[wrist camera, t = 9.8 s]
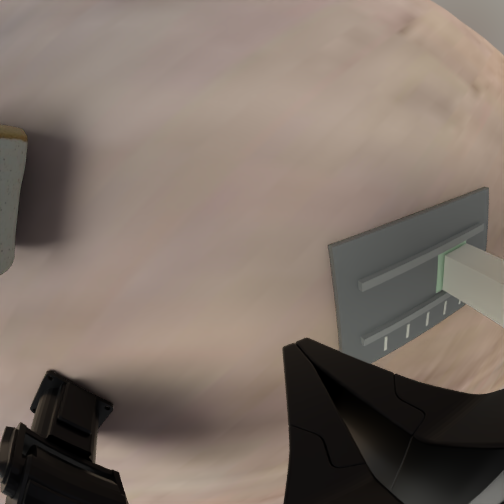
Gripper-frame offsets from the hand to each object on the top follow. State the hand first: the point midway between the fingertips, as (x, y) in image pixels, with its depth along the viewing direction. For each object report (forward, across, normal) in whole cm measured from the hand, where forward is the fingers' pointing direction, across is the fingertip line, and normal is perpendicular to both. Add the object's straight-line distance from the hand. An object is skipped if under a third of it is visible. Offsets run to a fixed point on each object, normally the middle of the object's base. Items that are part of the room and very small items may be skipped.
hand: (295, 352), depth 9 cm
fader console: (+12, -18, +10) cm, 24 cm away
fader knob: (+11, -22, +10) cm, 27 cm away
